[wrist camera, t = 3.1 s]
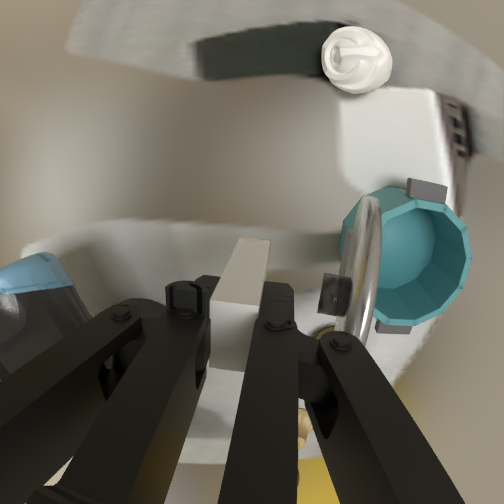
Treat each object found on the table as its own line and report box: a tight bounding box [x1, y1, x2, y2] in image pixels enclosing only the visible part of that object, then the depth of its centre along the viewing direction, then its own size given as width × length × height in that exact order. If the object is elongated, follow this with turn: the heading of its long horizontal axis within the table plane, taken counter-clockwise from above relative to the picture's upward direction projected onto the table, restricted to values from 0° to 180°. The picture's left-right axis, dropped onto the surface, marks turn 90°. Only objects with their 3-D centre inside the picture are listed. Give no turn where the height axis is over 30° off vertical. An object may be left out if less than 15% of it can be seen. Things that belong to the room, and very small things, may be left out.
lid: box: [317, 195, 382, 346], centre depth 23 cm, size 15×16×3 cm
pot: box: [339, 178, 472, 334], centre depth 33 cm, size 18×15×9 cm
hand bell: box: [297, 408, 313, 487], centre depth 42 cm, size 8×8×16 cm
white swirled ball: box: [322, 26, 392, 94], centre depth 27 cm, size 8×8×8 cm
